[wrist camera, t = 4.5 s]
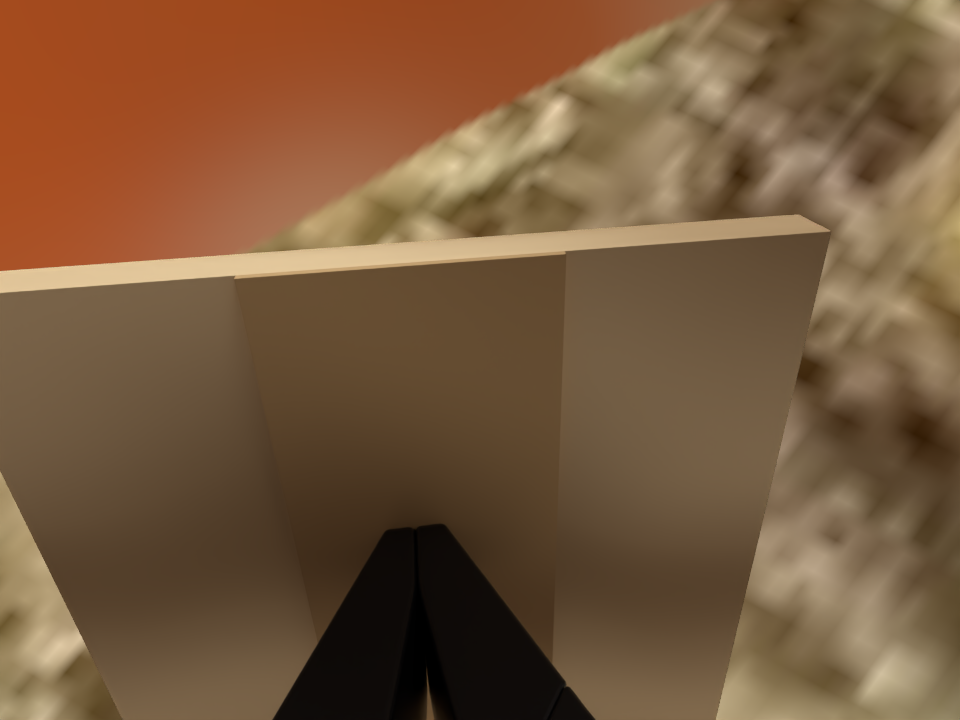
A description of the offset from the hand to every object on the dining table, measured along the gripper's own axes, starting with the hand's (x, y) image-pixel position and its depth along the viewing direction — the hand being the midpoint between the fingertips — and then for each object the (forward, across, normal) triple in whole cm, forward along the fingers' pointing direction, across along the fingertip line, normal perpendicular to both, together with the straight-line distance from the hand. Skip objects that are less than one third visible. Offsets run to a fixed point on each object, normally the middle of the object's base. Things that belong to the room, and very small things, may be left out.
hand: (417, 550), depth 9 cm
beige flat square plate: (+1, 0, +1) cm, 1 cm away
